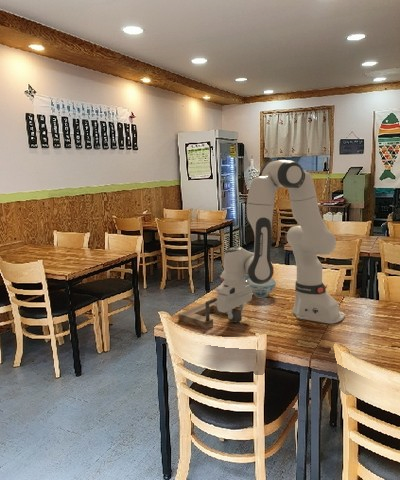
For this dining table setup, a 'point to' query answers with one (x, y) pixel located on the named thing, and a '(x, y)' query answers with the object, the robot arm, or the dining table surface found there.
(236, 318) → the dark grey block
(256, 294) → the chinaware
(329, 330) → the dining table surface
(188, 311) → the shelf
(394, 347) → the dining table surface
